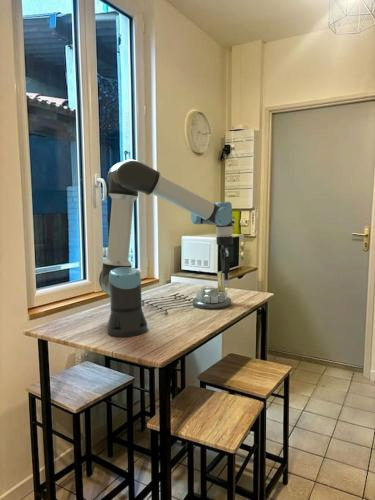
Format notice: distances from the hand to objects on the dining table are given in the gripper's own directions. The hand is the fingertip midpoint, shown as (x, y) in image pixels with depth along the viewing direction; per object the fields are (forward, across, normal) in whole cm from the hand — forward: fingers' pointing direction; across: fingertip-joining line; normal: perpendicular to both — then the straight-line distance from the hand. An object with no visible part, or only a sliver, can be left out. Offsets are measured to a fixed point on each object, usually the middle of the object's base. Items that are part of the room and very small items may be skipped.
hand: (226, 286), depth 179 cm
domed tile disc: (+6, +1, +7) cm, 9 cm away
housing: (+8, +1, +7) cm, 11 cm away
